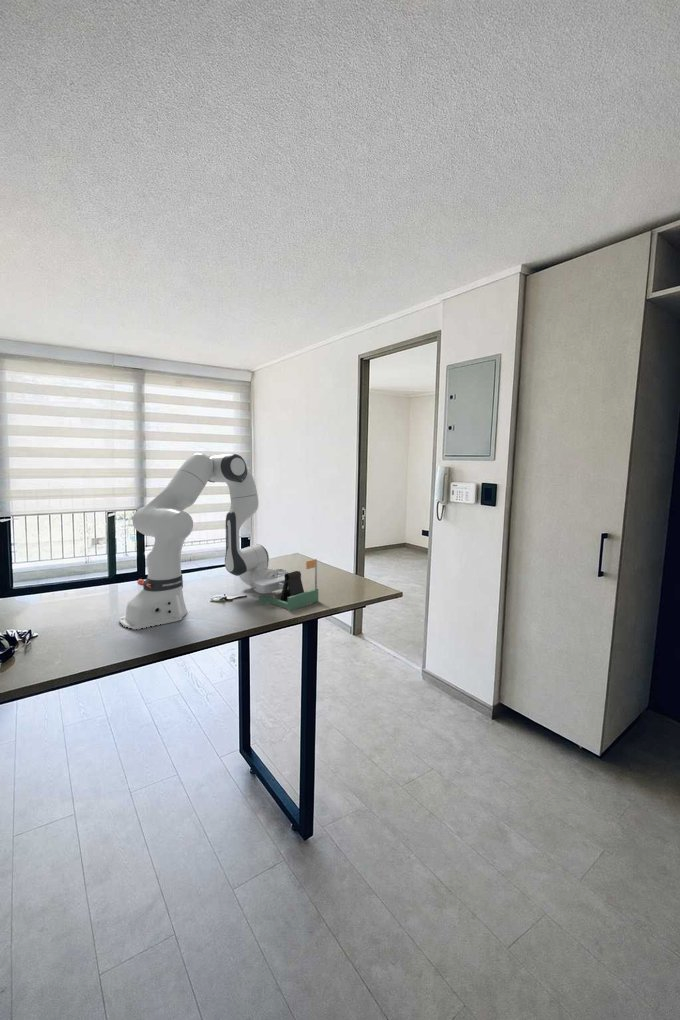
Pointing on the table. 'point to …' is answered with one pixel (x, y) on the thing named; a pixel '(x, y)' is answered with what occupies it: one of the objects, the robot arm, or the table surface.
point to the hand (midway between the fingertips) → (290, 586)
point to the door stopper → (292, 585)
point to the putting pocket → (298, 599)
